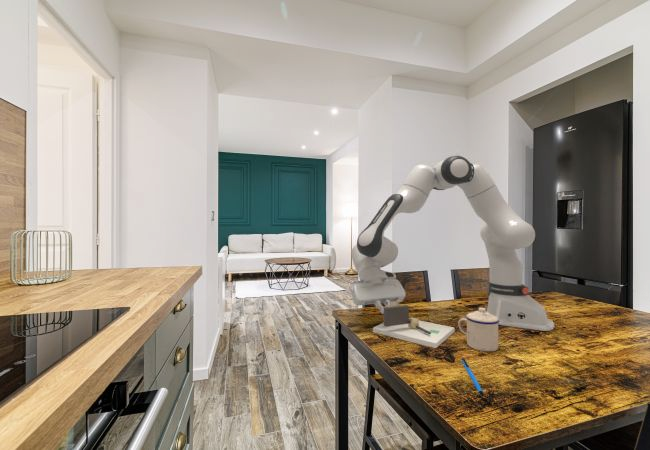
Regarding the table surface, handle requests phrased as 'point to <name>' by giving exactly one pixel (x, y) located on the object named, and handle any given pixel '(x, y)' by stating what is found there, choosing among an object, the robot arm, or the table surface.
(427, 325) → the white rectangular slab
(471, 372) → the pen
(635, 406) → the table surface
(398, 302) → the decorative ornament
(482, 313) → the teacup with lid
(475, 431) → the table surface
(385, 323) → the tuning peg
